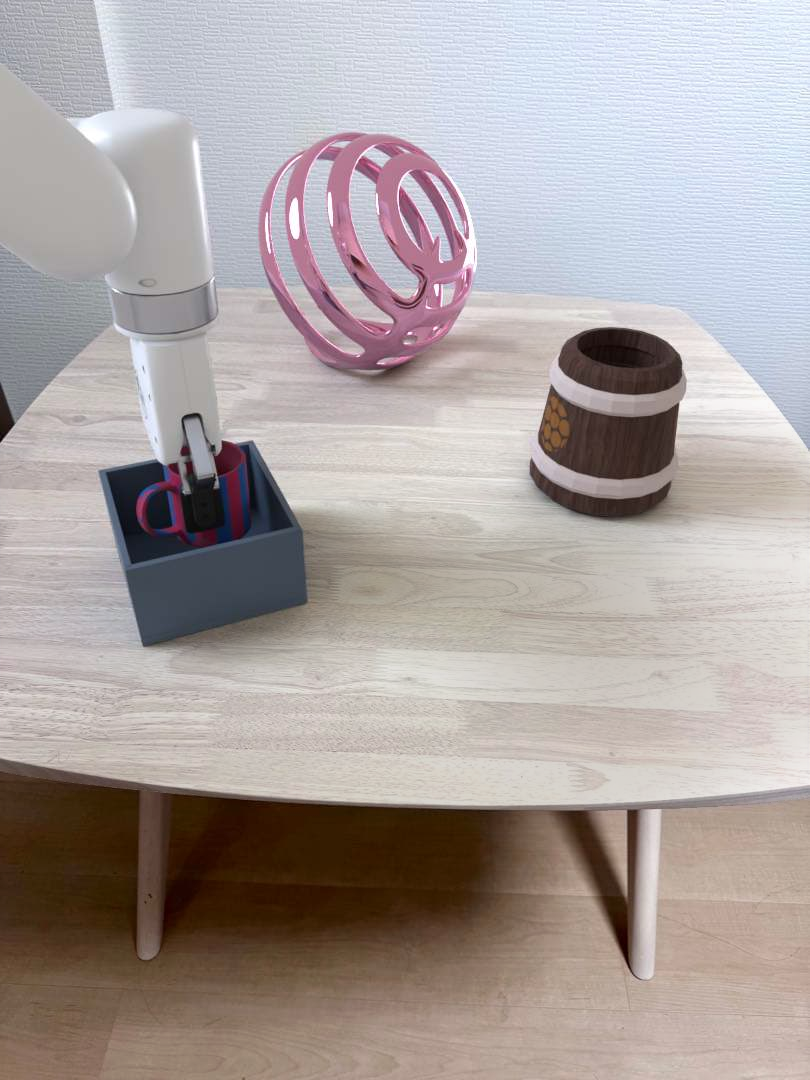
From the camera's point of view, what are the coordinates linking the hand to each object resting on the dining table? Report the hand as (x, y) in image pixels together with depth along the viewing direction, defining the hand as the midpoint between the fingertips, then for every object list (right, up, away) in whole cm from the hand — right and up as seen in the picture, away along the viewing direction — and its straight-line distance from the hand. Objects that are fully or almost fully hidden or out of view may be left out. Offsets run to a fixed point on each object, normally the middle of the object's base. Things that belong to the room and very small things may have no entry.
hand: (195, 502), depth 72 cm
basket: (+3, -7, -3) cm, 8 cm away
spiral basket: (+14, +21, +40) cm, 47 cm away
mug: (+38, +4, +19) cm, 43 cm away
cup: (0, -3, +1) cm, 3 cm away
